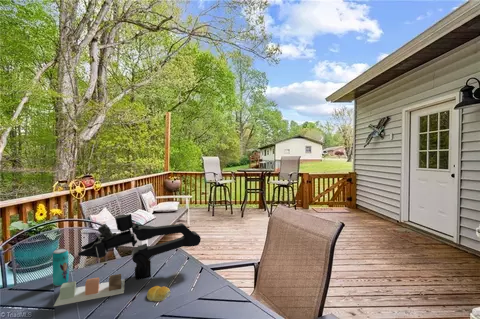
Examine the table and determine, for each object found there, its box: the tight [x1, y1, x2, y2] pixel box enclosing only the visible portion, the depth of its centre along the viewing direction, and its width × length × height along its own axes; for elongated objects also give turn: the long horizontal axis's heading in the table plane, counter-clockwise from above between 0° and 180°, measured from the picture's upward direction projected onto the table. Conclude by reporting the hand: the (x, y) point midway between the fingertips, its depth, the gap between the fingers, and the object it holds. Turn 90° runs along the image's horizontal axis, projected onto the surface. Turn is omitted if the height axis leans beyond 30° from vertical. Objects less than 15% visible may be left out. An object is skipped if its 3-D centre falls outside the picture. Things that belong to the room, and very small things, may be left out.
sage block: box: [59, 281, 77, 300], centre depth 103 cm, size 4×4×4 cm
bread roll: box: [146, 285, 172, 302], centre depth 103 cm, size 8×9×4 cm
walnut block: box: [108, 273, 122, 291], centre depth 110 cm, size 4×4×4 cm
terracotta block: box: [84, 276, 100, 295], centre depth 106 cm, size 4×4×4 cm
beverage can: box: [52, 248, 70, 287], centre depth 114 cm, size 6×6×15 cm
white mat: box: [52, 278, 126, 307], centre depth 106 cm, size 24×13×1 cm, turn 113°
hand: (80, 251), depth 110 cm, fingers open, 9 cm apart
